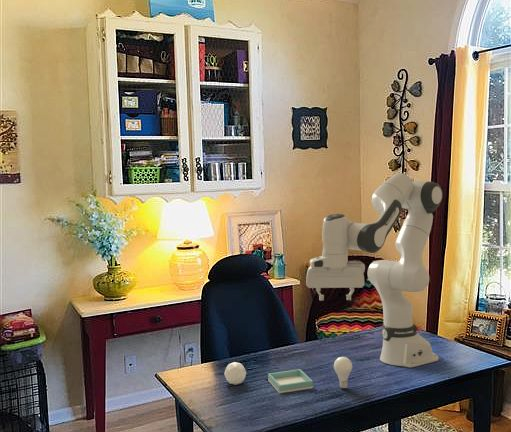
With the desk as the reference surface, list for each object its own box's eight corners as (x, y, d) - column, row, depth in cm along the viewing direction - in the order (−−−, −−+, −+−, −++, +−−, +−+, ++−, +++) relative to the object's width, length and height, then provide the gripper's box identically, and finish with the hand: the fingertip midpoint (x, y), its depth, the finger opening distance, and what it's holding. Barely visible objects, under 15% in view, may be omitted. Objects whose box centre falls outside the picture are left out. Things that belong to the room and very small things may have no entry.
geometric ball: (229, 391, 208) (217, 372, 210) (247, 378, 212) (234, 360, 213) (235, 387, 201) (222, 367, 203) (253, 374, 205) (240, 355, 207)
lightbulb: (343, 393, 196) (342, 361, 195) (330, 387, 201) (329, 357, 200) (356, 388, 199) (355, 357, 198) (343, 383, 204) (342, 352, 203)
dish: (300, 375, 213) (300, 369, 213) (313, 388, 201) (312, 380, 201) (268, 380, 209) (268, 373, 209) (279, 393, 197) (279, 385, 197)
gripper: (363, 259, 204) (363, 297, 205) (305, 259, 205) (305, 298, 206) (366, 262, 198) (366, 301, 199) (306, 262, 198) (306, 302, 199)
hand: (335, 300), depth 202 cm, fingers open, 8 cm apart
